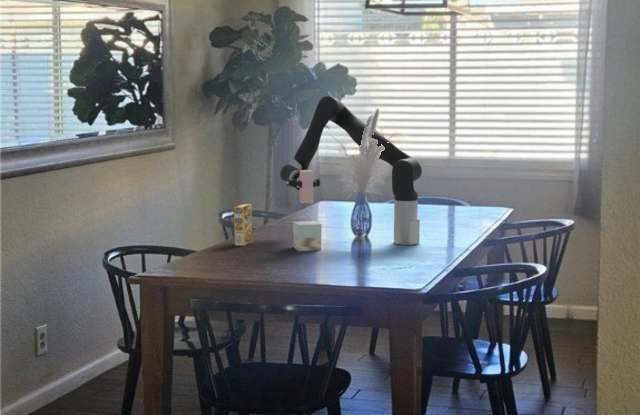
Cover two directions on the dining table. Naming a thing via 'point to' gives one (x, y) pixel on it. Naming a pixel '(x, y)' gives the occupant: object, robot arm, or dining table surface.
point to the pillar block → (306, 186)
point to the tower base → (307, 244)
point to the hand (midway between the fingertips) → (307, 184)
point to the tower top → (307, 229)
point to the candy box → (243, 224)
